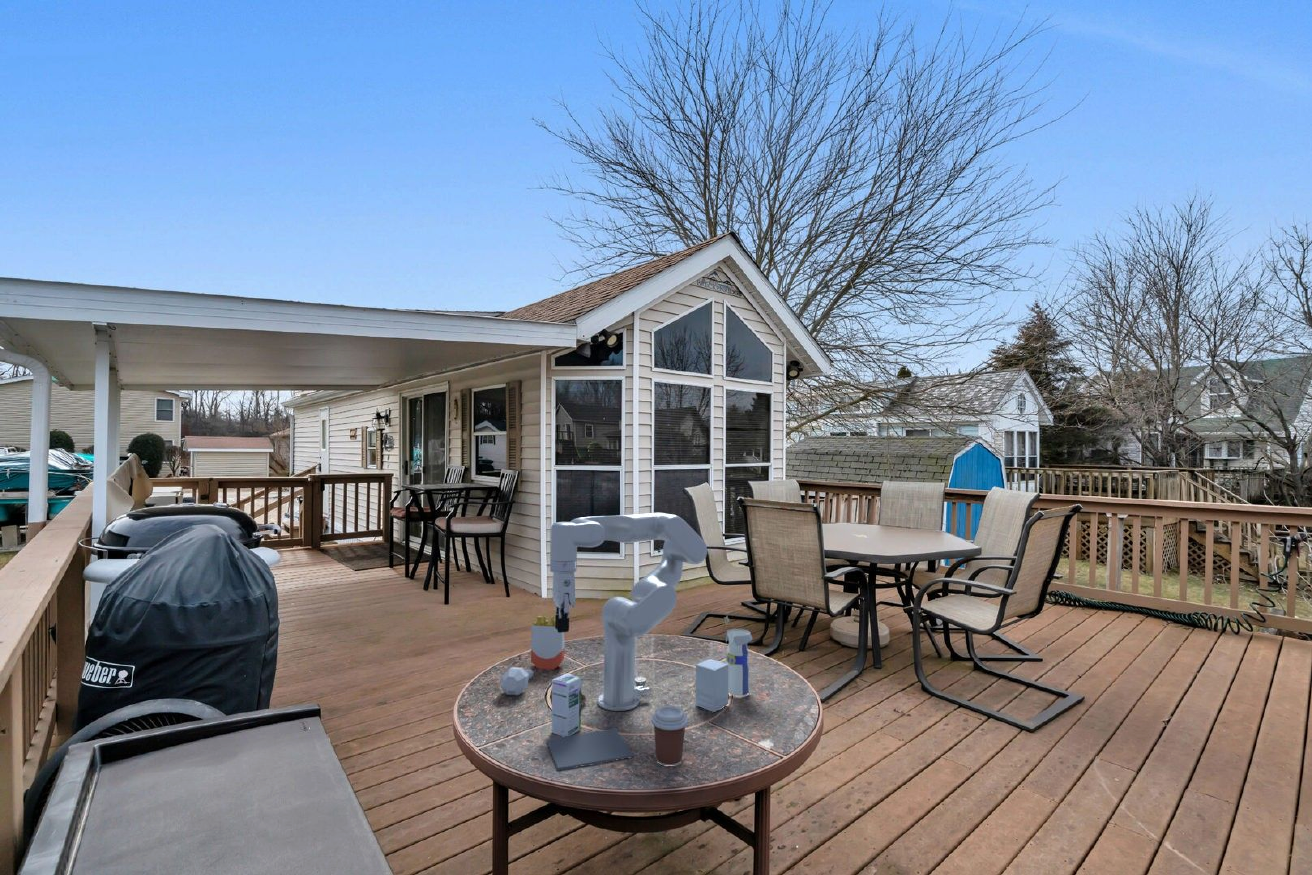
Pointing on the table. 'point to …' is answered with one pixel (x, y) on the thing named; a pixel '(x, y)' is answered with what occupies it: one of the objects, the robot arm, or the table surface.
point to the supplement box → (711, 684)
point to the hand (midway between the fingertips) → (562, 629)
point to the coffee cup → (669, 734)
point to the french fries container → (546, 644)
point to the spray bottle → (738, 660)
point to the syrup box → (566, 704)
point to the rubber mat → (588, 748)
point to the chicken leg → (515, 680)
